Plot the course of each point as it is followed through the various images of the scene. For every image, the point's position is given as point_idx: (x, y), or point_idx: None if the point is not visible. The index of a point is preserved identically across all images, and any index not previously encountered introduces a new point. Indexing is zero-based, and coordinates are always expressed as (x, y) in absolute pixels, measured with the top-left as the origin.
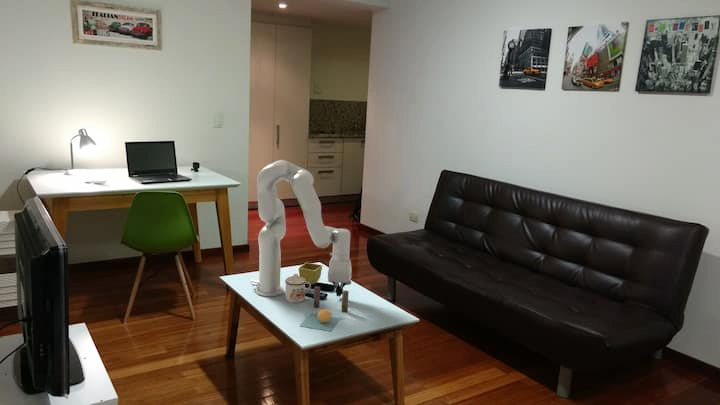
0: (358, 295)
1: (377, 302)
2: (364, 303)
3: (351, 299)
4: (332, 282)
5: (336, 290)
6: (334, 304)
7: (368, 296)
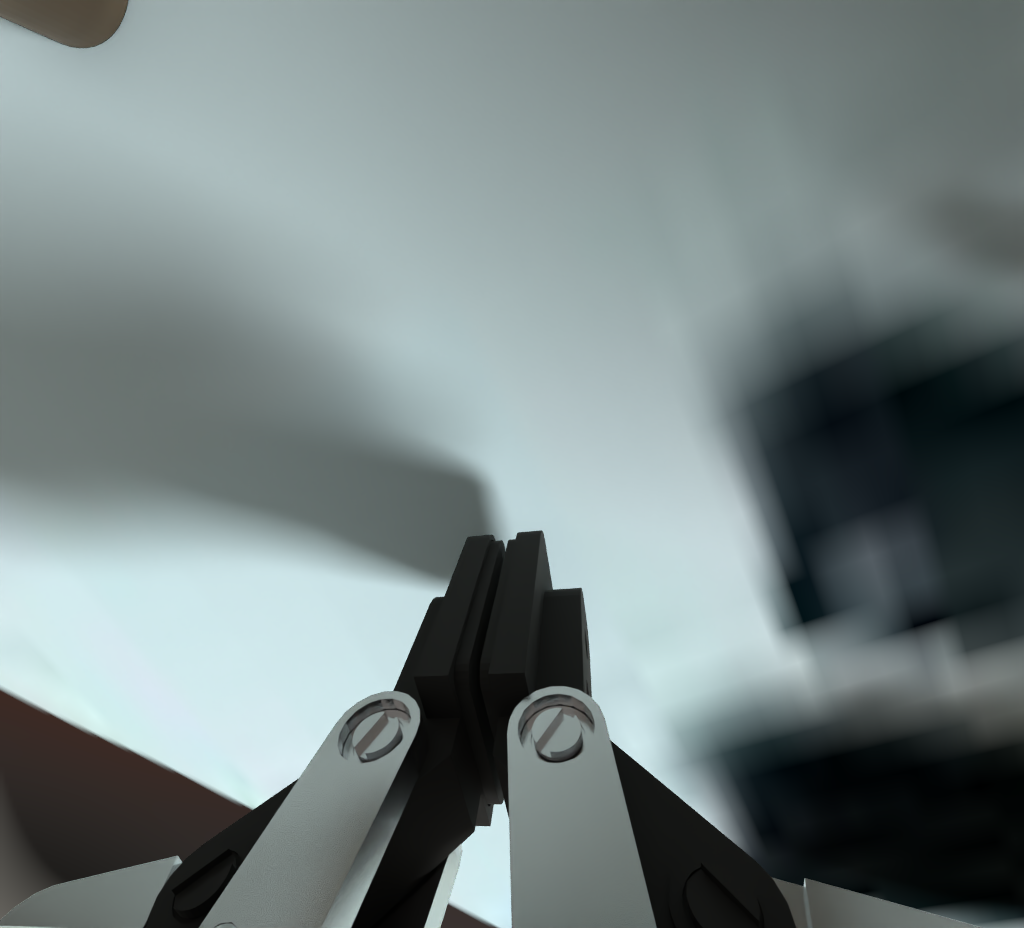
0: None
1: (11, 639)
2: (95, 542)
3: (331, 594)
4: (767, 897)
5: (559, 636)
6: (460, 237)
7: (218, 752)
